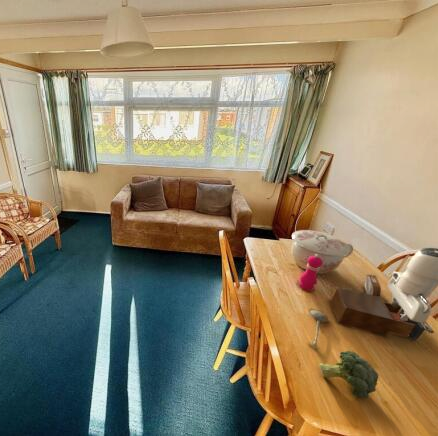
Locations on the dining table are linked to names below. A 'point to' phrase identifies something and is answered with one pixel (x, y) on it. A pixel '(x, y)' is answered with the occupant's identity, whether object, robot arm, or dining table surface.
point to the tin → (372, 285)
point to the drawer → (407, 325)
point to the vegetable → (353, 373)
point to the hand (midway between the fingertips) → (398, 312)
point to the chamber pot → (319, 249)
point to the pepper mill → (310, 273)
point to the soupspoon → (318, 323)
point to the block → (396, 316)
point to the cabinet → (362, 311)
